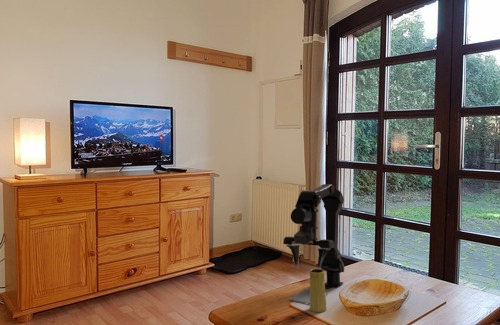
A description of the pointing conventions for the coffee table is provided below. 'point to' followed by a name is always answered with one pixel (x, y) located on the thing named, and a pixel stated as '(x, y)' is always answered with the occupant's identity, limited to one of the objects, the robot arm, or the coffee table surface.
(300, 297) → the mat
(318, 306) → the vase
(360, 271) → the coffee table surface
